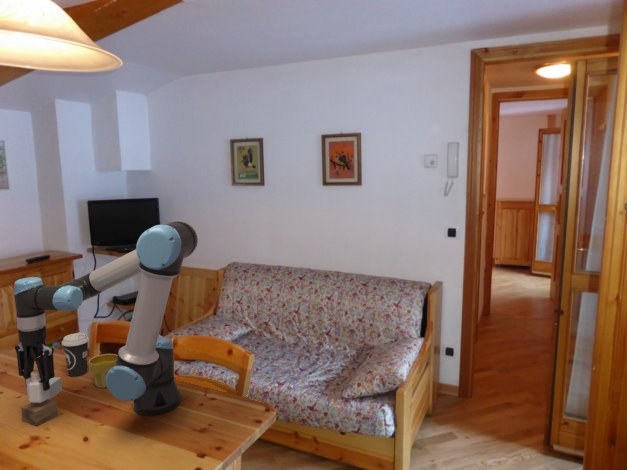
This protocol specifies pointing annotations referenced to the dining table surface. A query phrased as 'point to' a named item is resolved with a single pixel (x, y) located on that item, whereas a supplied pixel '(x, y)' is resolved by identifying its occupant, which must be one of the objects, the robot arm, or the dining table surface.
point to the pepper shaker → (34, 387)
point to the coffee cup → (76, 353)
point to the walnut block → (39, 412)
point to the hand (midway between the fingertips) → (38, 398)
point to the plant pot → (101, 368)
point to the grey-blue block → (55, 386)
